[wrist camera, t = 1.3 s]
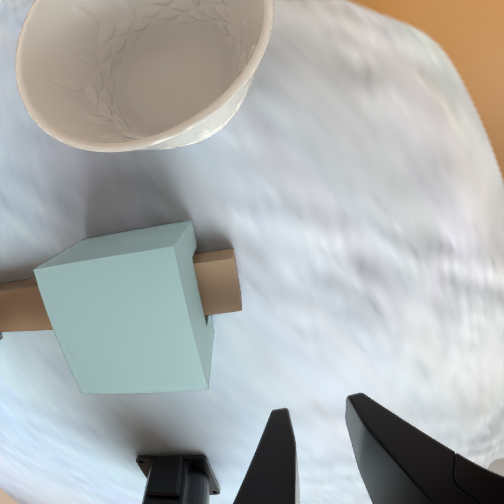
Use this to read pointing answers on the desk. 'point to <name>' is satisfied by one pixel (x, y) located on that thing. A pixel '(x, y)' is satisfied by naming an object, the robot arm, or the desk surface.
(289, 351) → the desk surface
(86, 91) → the white cup
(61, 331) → the block
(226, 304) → the rail
